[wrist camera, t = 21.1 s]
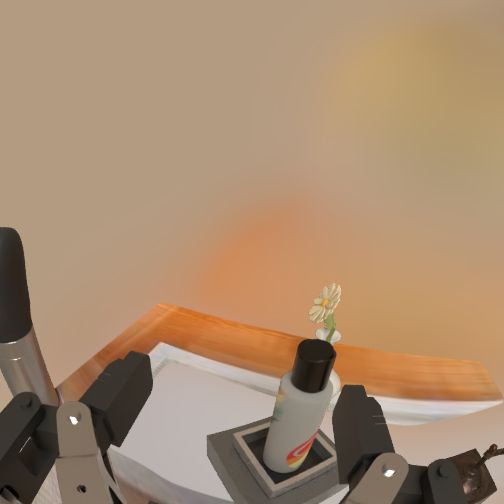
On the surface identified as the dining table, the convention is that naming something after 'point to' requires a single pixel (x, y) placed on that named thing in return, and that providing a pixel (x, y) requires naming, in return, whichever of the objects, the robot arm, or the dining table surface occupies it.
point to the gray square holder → (263, 478)
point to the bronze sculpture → (476, 474)
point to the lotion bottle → (300, 406)
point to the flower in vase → (327, 322)
